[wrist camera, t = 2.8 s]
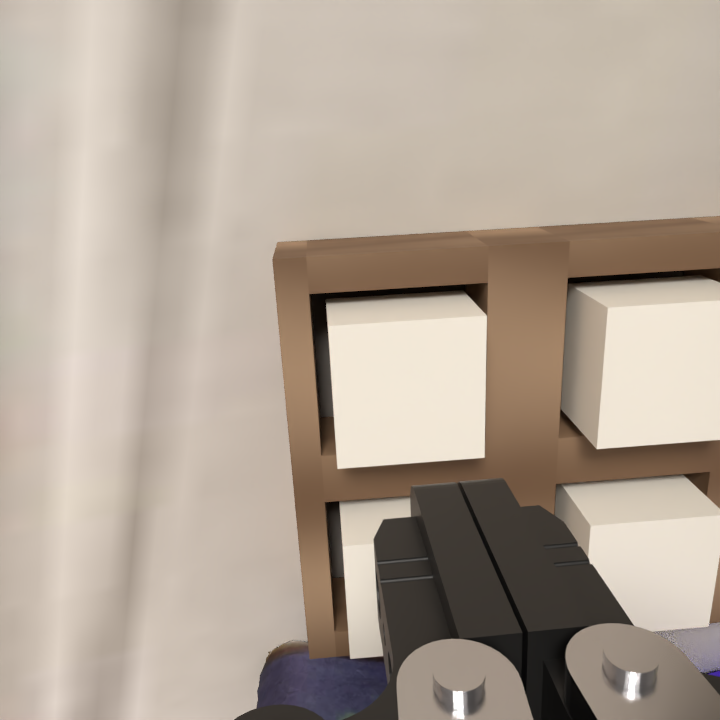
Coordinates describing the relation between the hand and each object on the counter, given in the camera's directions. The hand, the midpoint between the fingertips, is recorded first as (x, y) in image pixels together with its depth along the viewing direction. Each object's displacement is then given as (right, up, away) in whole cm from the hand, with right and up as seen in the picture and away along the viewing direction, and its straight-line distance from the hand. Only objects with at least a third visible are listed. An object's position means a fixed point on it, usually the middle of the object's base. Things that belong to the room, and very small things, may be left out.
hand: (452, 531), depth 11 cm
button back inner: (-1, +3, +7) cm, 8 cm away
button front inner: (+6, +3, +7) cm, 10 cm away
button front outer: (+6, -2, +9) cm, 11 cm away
